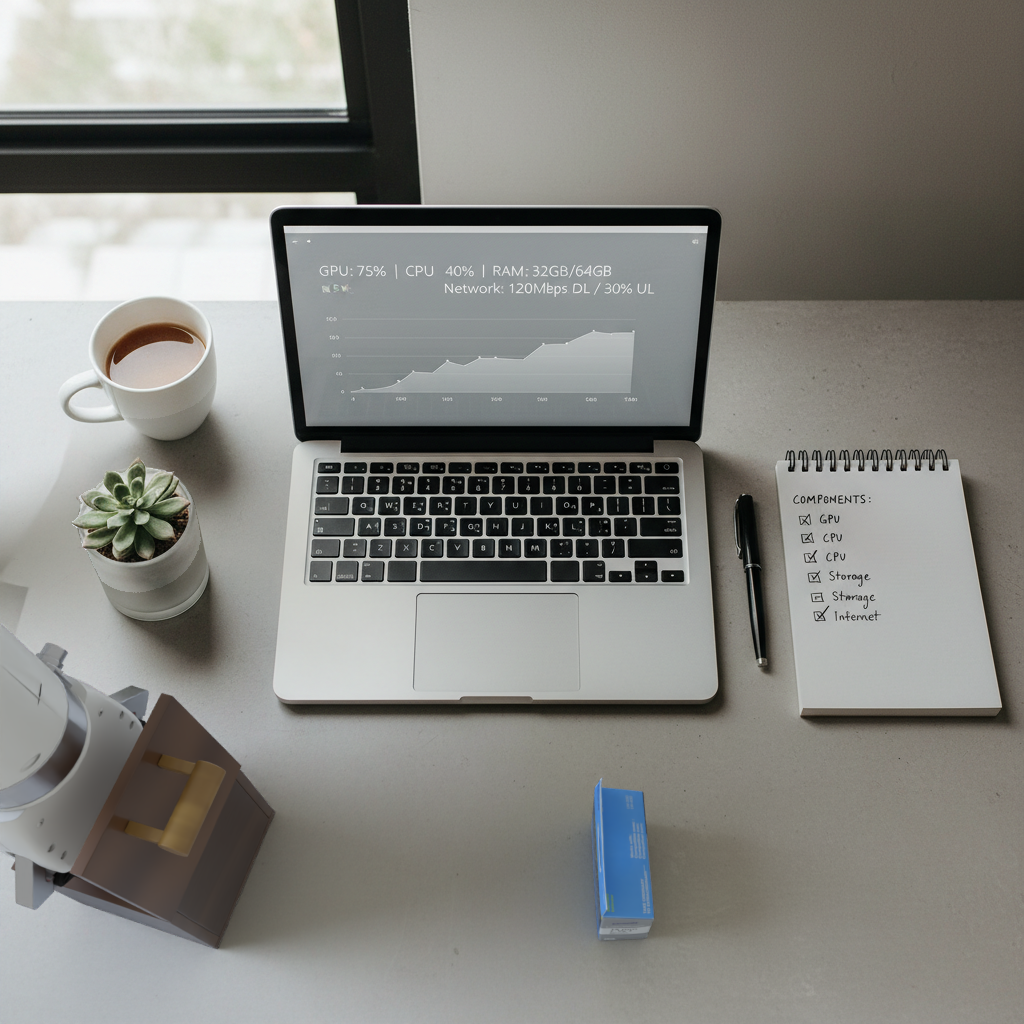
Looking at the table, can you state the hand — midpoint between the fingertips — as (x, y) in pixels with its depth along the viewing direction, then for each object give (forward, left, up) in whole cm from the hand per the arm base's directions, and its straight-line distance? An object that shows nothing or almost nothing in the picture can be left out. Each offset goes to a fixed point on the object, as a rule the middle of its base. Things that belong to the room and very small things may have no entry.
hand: (124, 820), depth 69 cm
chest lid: (+6, 0, +9) cm, 11 cm away
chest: (+1, 0, -9) cm, 9 cm away
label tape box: (+34, +8, -9) cm, 36 cm away
